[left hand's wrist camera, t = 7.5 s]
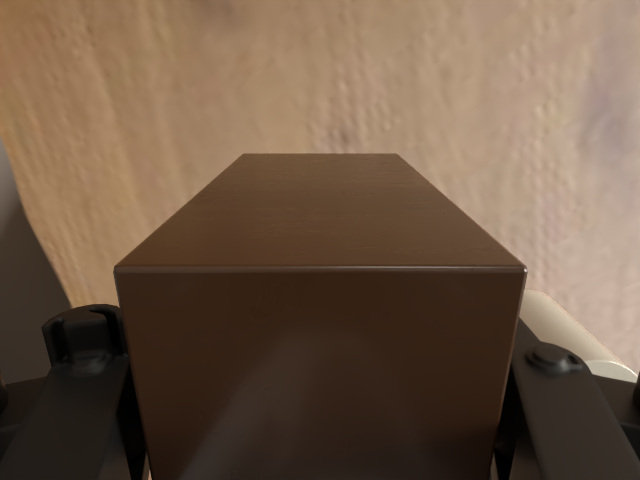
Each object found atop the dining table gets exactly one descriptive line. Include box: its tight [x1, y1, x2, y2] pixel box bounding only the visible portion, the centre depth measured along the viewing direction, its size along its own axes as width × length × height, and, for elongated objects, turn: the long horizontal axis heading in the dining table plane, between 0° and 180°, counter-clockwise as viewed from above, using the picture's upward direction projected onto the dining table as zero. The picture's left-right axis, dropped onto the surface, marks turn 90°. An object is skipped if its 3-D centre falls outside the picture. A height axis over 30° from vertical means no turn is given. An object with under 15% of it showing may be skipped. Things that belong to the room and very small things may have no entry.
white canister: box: [519, 289, 638, 383], centre depth 26 cm, size 6×6×8 cm
